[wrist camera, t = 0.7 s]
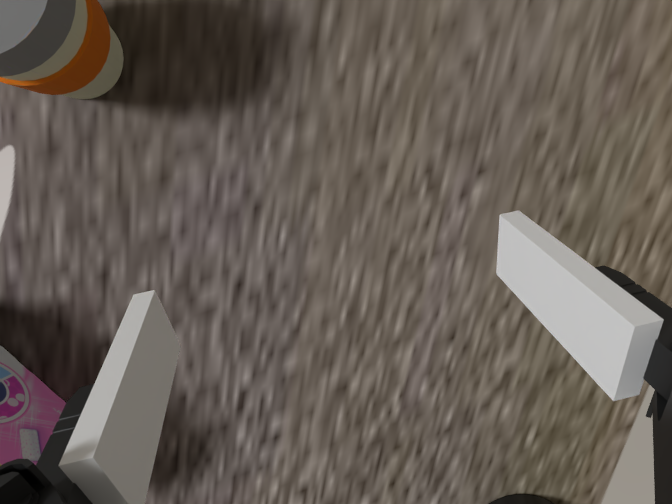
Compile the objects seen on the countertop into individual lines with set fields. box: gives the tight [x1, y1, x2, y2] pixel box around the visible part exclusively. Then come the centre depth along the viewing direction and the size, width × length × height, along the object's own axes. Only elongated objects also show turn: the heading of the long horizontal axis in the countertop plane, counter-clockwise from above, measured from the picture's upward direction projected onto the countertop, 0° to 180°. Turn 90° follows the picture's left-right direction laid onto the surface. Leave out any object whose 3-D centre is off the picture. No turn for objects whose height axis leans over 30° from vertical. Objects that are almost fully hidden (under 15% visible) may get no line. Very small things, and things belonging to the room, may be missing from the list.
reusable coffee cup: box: [0, 0, 124, 99], centre depth 37 cm, size 12×12×15 cm
